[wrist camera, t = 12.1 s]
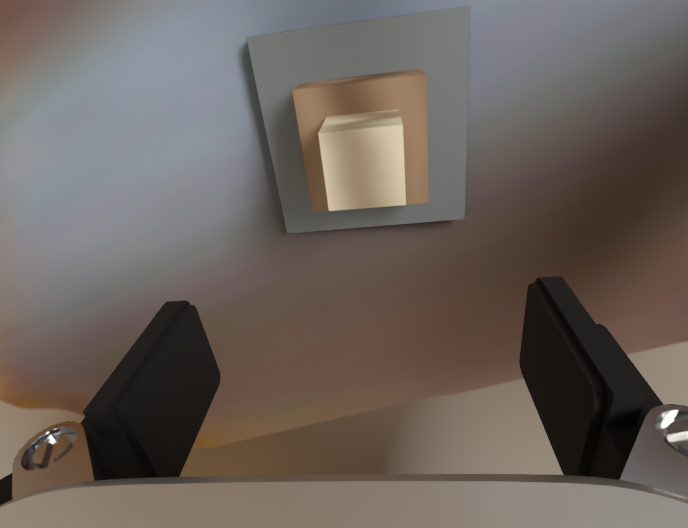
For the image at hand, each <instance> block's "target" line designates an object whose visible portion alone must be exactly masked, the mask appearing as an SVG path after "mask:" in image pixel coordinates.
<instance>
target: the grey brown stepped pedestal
mask: <svg viewBox="0 0 688 528" xmlns="http://www.w3.org/2000/svg"><path fill="white" fill-rule="evenodd" d="M246 39H247V44H248V48H249V53H250V58H251V63H252V68H253V72H254V77H255V82H256V87H257V92H258V96H259V101H260V106H261V111H262V116H263V120H264V125H265V130H266V135H267V140H268V144H269V149H270V154H271V159H272V164H273V168H274V173H275V178H276V183H277V188H278V192H279V197H280V202H281V207H282V212H283V216H284V221H285V226H286V231H287V233H300V232H312V231H324V230H336V229H349V228H361V227H373V226H386V225H398V224H410V223H422V222H435V221H447V220H459V219H465V192H466V154H467V117H468V80H469V43H470V6H467V7H460V8H453V9H446V10H438V11H431V12H424V13H417V14H410V15H402V16H395V17H388V18H381V19H374V20H367V21H359V22H352V23H345V24H338V25H331V26H323V27H316V28H309V29H302V30H295V31H287V32H280V33H273V34H266V35H259V36H252V37H246ZM396 109H399V112H400V116H401V120H402V123H403V140H404V166H405V192H406V205H401V206H388V207H375V208H362V209H349V210H336V211H329V208H328V201H327V194H326V187H325V179H324V172H323V165H322V158H321V150H320V143H319V136H318V132H319V131H320V129H321V127H322V125H323V123H324V121H325V119H326V117H328V116H338V115H348V114H357V113H367V112H377V111H386V110H396Z"/></svg>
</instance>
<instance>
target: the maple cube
mask: <svg viewBox="0 0 688 528" xmlns="http://www.w3.org/2000/svg"><path fill="white" fill-rule="evenodd" d="M318 136H319V143H320V150H321V158H322V165H323V172H324V179H325V187H326V194H327V201H328V208H329V211H336V210H349V209H362V208H375V207H388V206H401V205H406V192H405V166H404V140H403V123H402V120H401V116H400V112H399V109H396V110H386V111H377V112H367V113H357V114H348V115H338V116H328V117H326V119H325V121H324V123H323V125H322V127H321V129H320V131H319V132H318Z"/></svg>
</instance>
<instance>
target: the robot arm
mask: <svg viewBox="0 0 688 528" xmlns="http://www.w3.org/2000/svg"><path fill="white" fill-rule="evenodd" d="M520 368H521V372H522V375H523V377H524V380H525V382H526V384H527V387H528V389H529V392H530V394H531V397H532V399H533V402H534V404H535V407H536V409H537V411H538V414H539V416H540V419H541V421H542V423H543V426H544V428H545V431H546V433H547V435H548V438H549V441H550V443H551V446H552V448H553V450H554V453H555V455H556V458H557V460H558V462H559V465H560V467H561V470H562V472H563V475H530V474H529V475H528V474H391V475H390V474H386V475H385V474H382V475H380V474H379V475H288V476H287V475H277V476H215V477H214V476H212V477H179V476H180V473H181V471H182V469H183V467H184V464H185V462H186V460H187V457H188V455H189V453H190V451H191V448H192V446H193V444H194V441H195V439H196V437H197V434H198V432H199V430H200V428H201V425H202V423H203V421H204V418H205V416H206V414H207V411H208V409H209V407H210V405H211V402H212V400H213V398H214V395H215V393H216V391H217V389H218V386H219V383H220V371H219V368H218V366H217V363H216V360H215V358H214V355H213V352H212V349H211V347H210V344H209V341H208V339H207V336H206V333H205V331H204V328H203V325H202V322H201V320H200V317H199V314H198V312H197V309H196V307H195V306H194V305H190V303H189V302H188V301H172V302H166V303H165V304H164V305H163V306H162V308H161V309H160V310H159V312H158V313H157V314H156V316H155V317H154V318H153V319H152V321H151V322H150V323H149V325H148V326H147V327H146V329H145V330H144V331H143V333H142V334H141V335H140V337H139V338H138V339H137V341H136V342H135V343H134V345H133V346H132V347H131V349H130V350H129V351H128V353H127V354H126V355H125V357H124V358H123V359H122V361H121V362H120V363H119V365H118V366H117V367H116V369H115V370H114V371H113V373H112V374H111V375H110V377H109V378H108V379H107V381H106V382H105V383H104V385H103V386H102V387H101V388H100V390H99V391H98V392H97V394H96V395H95V396H94V398H93V399H92V400H91V402H90V403H89V404H88V406H87V407H86V408H85V410H84V411H83V413H84V415H85V416H86V417H85V418H84V419H83V421H82V422H81V423H78V422H73V421H67V422H62V423H58V424H55V425H53V426H50V427H48V428H46V429H44V430H43V431H41V432H39V433H38V434H36V435H35V436H34V437H32V438H31V439H30V440H29V441H27V443H26V444H25V445H24V446H23V447H22V448H21V449H20V450H19V452H18V454H17V455H16V457H15V459H14V463H13V471H12V473H11V474H10V475H8V476H6V477H4V478H3V479H1V480H0V528H688V407H687V406H682V405H675V404H667V405H663V403H662V402H661V401H660V399H659V398H658V397H657V395H656V394H655V393H654V391H653V390H652V389H651V387H650V386H649V385H648V383H647V382H646V381H645V379H644V378H643V377H642V375H641V374H640V372H639V371H638V370H637V369H636V367H635V366H634V364H633V363H632V362H631V360H630V359H629V358H628V356H627V355H626V354H625V352H624V351H623V350H622V348H621V347H620V346H619V344H618V343H617V342H616V340H615V339H614V338H613V336H612V335H611V334H610V332H609V331H608V330H607V329H606V328H605V327H604V326H603V325H601V324H595V322H594V321H593V319H592V318H591V317H590V315H589V314H588V313H587V311H586V310H585V308H584V307H583V306H582V304H581V303H580V301H579V300H578V299H577V297H576V296H575V294H574V293H573V292H572V290H571V289H570V288H569V286H568V285H567V283H566V282H565V281H564V279H563V278H562V277H560V276H557V277H542V278H537V279H536V281H535V283H533V284H529V286H528V291H527V300H526V308H525V317H524V326H523V334H522V343H521V352H520Z"/></svg>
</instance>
